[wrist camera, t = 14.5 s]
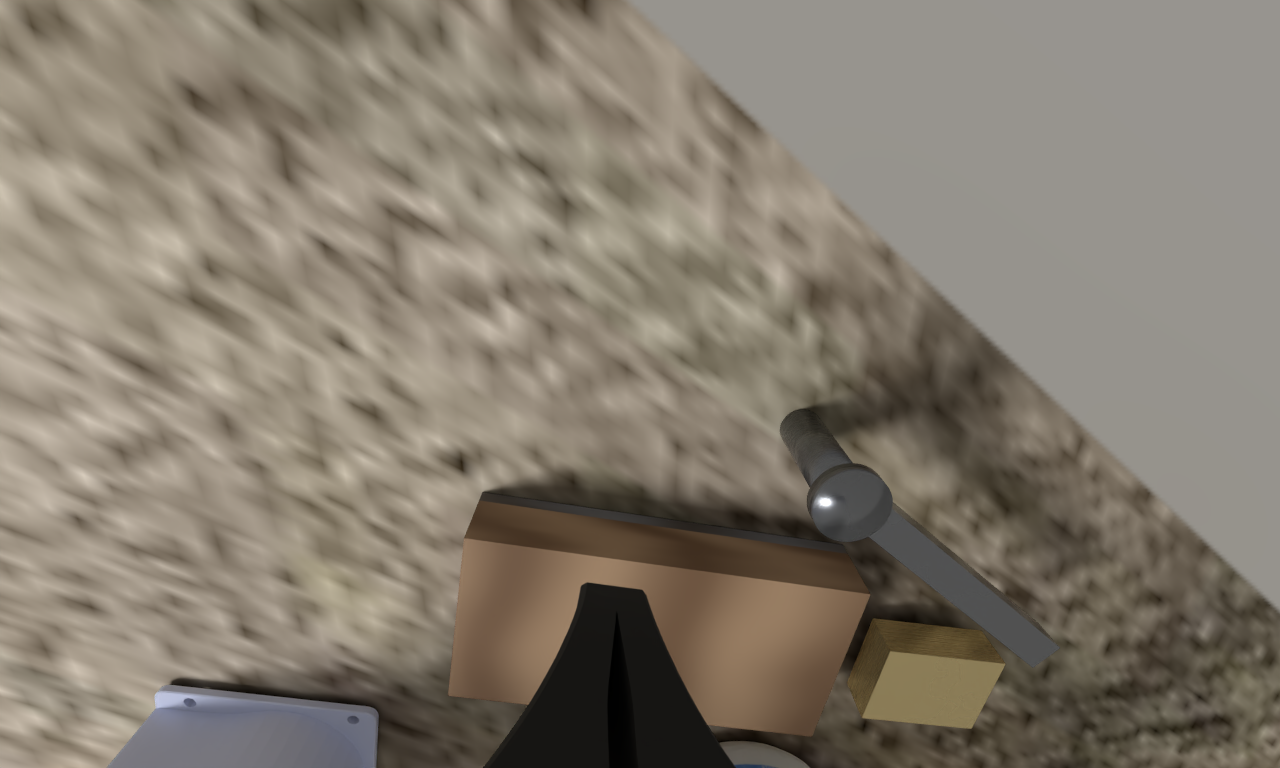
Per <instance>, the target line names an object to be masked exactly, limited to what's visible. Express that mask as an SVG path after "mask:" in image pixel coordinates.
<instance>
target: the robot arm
mask: <svg viewBox="0 0 1280 768" xmlns="http://www.w3.org/2000/svg"><path fill="white" fill-rule="evenodd" d="M155 704H156V709H155V710H154V711H153V712H152V714H151V715H150V716H149V717H148V718H147V720H146V721H145V722H144V723H143V724H142V726H141V727H140V728H139V729H138V730H137V732H136V733H135V734H134V735H133V736H132V738H131V739H130V740H129V741H128V742H127V744H126V745H125V746H124V747H123V748H122V750H121V751H120V752H119V753H118V754H117V756H116V757H115V758H114V759H113V760H112V762H111V763H110V764H109V765H108V766H107V768H376V762H377V741H378V720H379V715H378V712H377V711H376V710H375V709H374V708H372V707H369V706H360V705H351V704H341V703H332V702H323V701H314V700H305V699H296V698H286V697H277V696H268V695H259V694H250V693H241V692H231V691H222V690H213V689H204V688H195V687H186V686H177V685H165V686H162V687H161V688H160V690H159V691H158V692H157V693H156V694H155ZM483 768H736V767H735V765H734V764H733V763H732V761H731V760H730V758H729V757H728V756H727V754H726V753H725V751H724V750H723V748H722V747H721V745H720V744H719V742H718V741H717V739H716V738H715V736H714V735H713V733H712V731H711V730H710V728H709V727H708V725H707V723H706V722H705V720H704V718H703V717H702V715H701V713H700V712H699V710H698V708H697V706H696V705H695V703H694V701H693V699H692V697H691V696H690V694H689V692H688V690H687V688H686V686H685V684H684V682H683V681H682V679H681V677H680V675H679V673H678V671H677V668H676V666H675V664H674V662H673V660H672V658H671V656H670V654H669V652H668V650H667V647H666V645H665V643H664V641H663V638H662V636H661V633H660V631H659V629H658V626H657V624H656V621H655V618H654V616H653V613H652V610H651V608H650V605H649V602H648V599H647V595H646V594H645V592H644V591H643V590H641V589H634V588H626V587H619V586H611V585H604V584H596V583H589V582H587V583H585V584H583V585H581V588H580V593H579V598H578V603H577V608H576V611H575V614H574V617H573V619H572V622H571V625H570V627H569V630H568V632H567V634H566V636H565V638H564V640H563V643H562V645H561V647H560V649H559V651H558V653H557V655H556V657H555V659H554V661H553V663H552V665H551V667H550V668H549V670H548V672H547V674H546V676H545V678H544V679H543V681H542V683H541V685H540V687H539V688H538V690H537V692H536V693H535V695H534V696H533V698H532V700H531V701H530V703H529V704H528V706H527V708H526V709H525V711H524V712H523V714H522V715H521V717H520V718H519V720H518V721H517V723H516V724H515V726H514V727H513V728H512V730H511V731H510V733H509V734H508V735H507V737H506V738H505V739H504V741H503V742H502V744H501V745H500V746H499V748H498V749H497V750H496V752H495V753H494V754H493V756H492V757H491V758H490V760H489V761H488V762H487V763H486V765H485V766H484V767H483Z"/></svg>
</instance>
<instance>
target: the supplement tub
mask: <svg viewBox="0 0 1280 768" xmlns="http://www.w3.org/2000/svg"><path fill="white" fill-rule="evenodd" d="M719 744H720V745H721V747H722V748H723V750H724V751H725V753H726V754H727V756H728V757H729V758H730V760H731V761H732V763H733V764H734V765H735V767H736V768H810V767H809V766H808V765H807V764H806V763H804V762H803V761H802V760H800V759H799V758H797V757H796V756H794V755H792V754H790V753H788V752H786V751H784V750H781V749H778V748H776V747H773V746H770V745H767V744H763V743H758V742H750V741H729V742H721V743H719Z"/></svg>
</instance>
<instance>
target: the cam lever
mask: <svg viewBox="0 0 1280 768" xmlns="http://www.w3.org/2000/svg"><path fill="white" fill-rule="evenodd" d="M780 434H781V437H782V439H783V441H784V443H785V444H786V446H787V448H788V450H789V451H790V453H791V455H792V457H793V459H794V460H795V462H796V464H797V466H798V467H799V469H800V471H801V473H802V474H803V476H804V478H805V480H806V482H807V483H808V485H809V487H810V489H809V492H808V496H807V507H808V511H809V513H810V515H811V517H812V519H813V521H814V523H815V525H816V527H817V528H818V529H819V531H820V532H821V533H822V534H823V535H825V536H826V537H828V538H830V539H833V540H836V541H841V542H852V541H858V540H861V539H864V538H867V537H870V538H871V539H872V540H873V541H875V542H876V543H877V544H878V545H880V546H881V547H882V548H883V549H885V550H886V551H887V552H888V553H890V554H891V555H892V556H893V557H895V558H896V559H897V560H898V561H900V562H901V563H902V564H903V565H905V566H906V567H907V568H908V569H910V570H911V571H912V572H913V573H915V574H916V575H917V576H918V577H920V578H921V579H922V580H923V581H925V582H926V583H927V584H928V585H930V586H931V587H932V588H933V589H935V590H936V591H937V592H938V593H940V594H941V595H942V596H944V597H945V598H946V599H947V600H949V601H950V602H951V603H952V604H954V605H955V606H956V607H957V608H959V609H960V610H961V611H962V612H964V613H965V614H966V615H967V616H969V617H970V618H971V619H972V620H974V621H975V622H976V623H977V624H979V625H980V626H981V627H982V628H984V629H985V630H986V631H987V632H989V633H990V634H991V635H992V636H994V637H995V638H996V639H997V640H999V641H1000V642H1001V643H1002V644H1004V645H1005V646H1006V647H1007V648H1009V649H1010V650H1011V651H1013V652H1014V653H1015V654H1016V655H1018V656H1019V657H1020V658H1021V659H1023V660H1024V661H1025V662H1026V663H1028V664H1029V665H1030V666H1031V667H1035V666H1036V665H1037V664H1039V663H1040V662H1042V661H1043V660H1044V659H1046V658H1047V657H1048V656H1050V655H1051V654H1053V653H1054V652H1055V651H1057V650H1058V649H1059V648H1060V647H1059V646H1058V645H1057V644H1056V643H1055V641H1054V640H1053V639H1052V638H1051V637H1050V636H1049V635H1048V634H1047V632H1046V631H1045V630H1044V629H1043V628H1042V627H1041V626H1040V625H1039V623H1037V622H1036V621H1035V620H1034V619H1033V618H1031V617H1030V616H1029V615H1028V614H1027V613H1025V612H1024V611H1023V610H1022V609H1021V608H1019V607H1018V606H1017V605H1016V604H1015V603H1013V602H1012V601H1011V600H1010V599H1009V598H1007V597H1006V596H1005V595H1004V594H1003V593H1001V592H1000V591H999V590H998V589H997V588H995V587H994V586H993V585H992V584H991V583H989V582H988V581H987V580H986V579H985V578H983V577H982V576H981V575H980V574H979V573H977V572H976V571H975V570H974V569H973V568H971V567H970V566H969V565H968V564H967V563H965V562H964V561H963V560H962V559H961V558H959V557H958V556H957V555H956V554H955V553H953V552H952V551H951V550H950V549H949V548H947V547H946V546H945V545H944V544H943V543H941V542H940V541H939V540H938V539H937V538H935V537H934V536H933V535H932V534H931V533H929V532H928V531H927V530H926V529H925V528H923V527H922V526H921V525H920V524H919V523H917V522H916V521H915V520H914V519H913V518H911V517H910V516H909V515H908V514H907V513H905V512H904V511H903V510H902V509H901V508H899V507H898V506H897V505H896V504H895V503H893V500H892V495H891V492H890V490H889V488H888V487H887V485H886V484H885V483H884V481H883V480H882V479H881V478H880V476H879V475H878V474H877V473H876V472H875V471H874V470H872V469H871V468H869V467H867V466H865V465H861V464H855V463H852V461H851V460H850V459H849V457H848V456H847V455H846V453H845V452H844V451H843V449H842V448H841V447H840V445H839V444H838V442H837V441H836V440H835V438H834V437H833V436H832V434H831V433H830V432H829V430H828V429H827V428H826V426H825V425H824V424H823V422H822V421H821V420H820V418H819V417H818V416H817V415H816V414H815V413H814V412H812V411H809V410H797V411H794V412H792V413H790V414H789V415H787V416H786V417H785V418H784V420H783V421H782V423H781V427H780Z"/></svg>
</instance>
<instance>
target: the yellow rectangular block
mask: <svg viewBox="0 0 1280 768" xmlns="http://www.w3.org/2000/svg"><path fill="white" fill-rule="evenodd" d="M1004 666H1005V662H1004V661H1003V660H1002V658H1001V657H1000V656H999V654H998V653H997V651H996V650H995V649H994V647H993V646H992V645H991V643H990V642H989V641H988V639H987V638H986V636H985V635H984V634H983V632H982V631H980V630H971V629H962V628H953V627H945V626H936V625H927V624H918V623H910V622H901V621H892V620H883V619H875V618H873V619H872V622H871V624H870V627H869V629H868V632H867V634H866V637H865V639H864V642H863V644H862V647H861V649H860V652H859V654H858V657H857V659H856V662H855V664H854V667H853V669H852V672H851V674H850V677H849V679H848V682H847V684H848V686H849V688H850V691H851V693H852V696H853V698H854V700H855V703H856V705H857V708H858V710H859V712H860V715H861V717H862V718H866V719H876V720H887V721H897V722H907V723H917V724H927V725H937V726H947V727H958V728H968V729H972V727H973V725H974V723H975V721H976V719H977V717H978V716H979V714H980V712H981V710H982V708H983V706H984V704H985V702H986V700H987V698H988V697H989V695H990V693H991V691H992V689H993V687H994V685H995V683H996V681H997V680H998V678H999V676H1000V674H1001V672H1002V670H1003V668H1004Z"/></svg>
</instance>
